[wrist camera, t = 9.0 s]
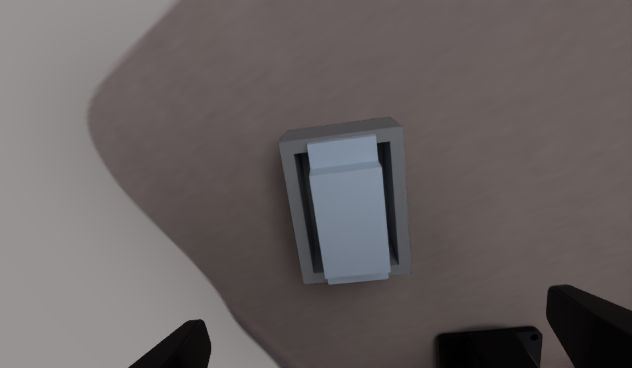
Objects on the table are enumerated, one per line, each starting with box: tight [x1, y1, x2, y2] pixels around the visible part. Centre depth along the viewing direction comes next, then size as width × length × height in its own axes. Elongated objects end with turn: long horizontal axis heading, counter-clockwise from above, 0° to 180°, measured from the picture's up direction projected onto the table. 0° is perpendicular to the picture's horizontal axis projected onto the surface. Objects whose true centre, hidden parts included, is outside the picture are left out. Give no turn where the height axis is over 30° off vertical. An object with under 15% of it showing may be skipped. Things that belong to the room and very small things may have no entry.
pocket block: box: [279, 117, 412, 284], centre depth 18 cm, size 8×6×3 cm
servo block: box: [307, 134, 391, 285], centre depth 17 cm, size 7×3×4 cm, turn 8°
